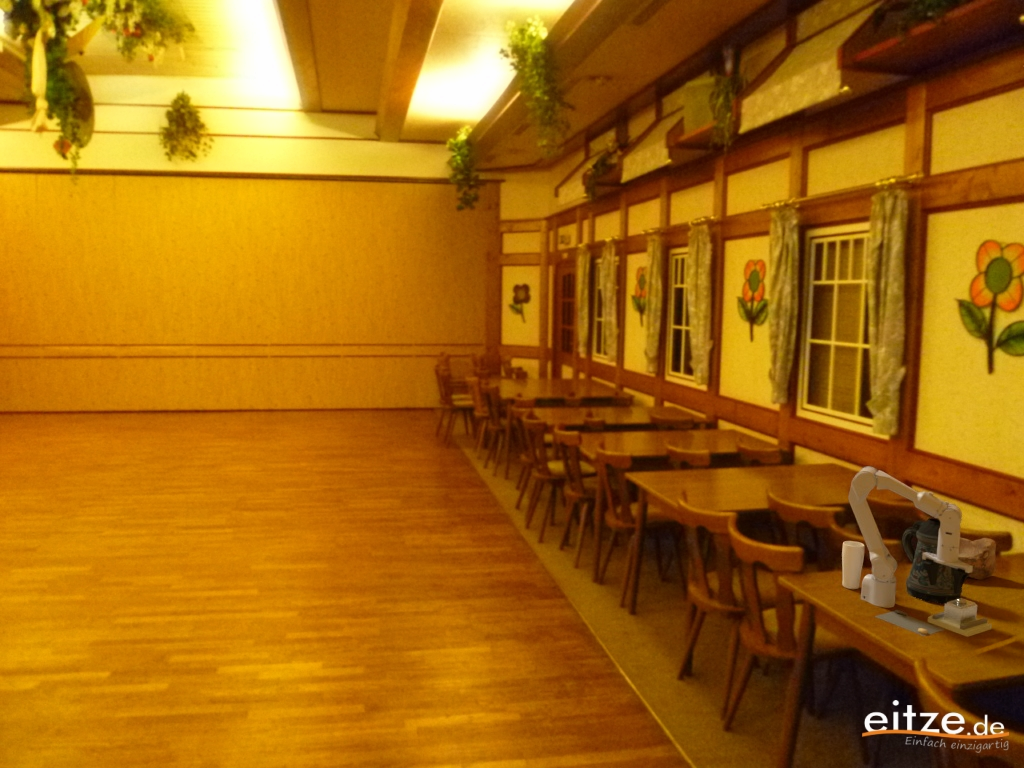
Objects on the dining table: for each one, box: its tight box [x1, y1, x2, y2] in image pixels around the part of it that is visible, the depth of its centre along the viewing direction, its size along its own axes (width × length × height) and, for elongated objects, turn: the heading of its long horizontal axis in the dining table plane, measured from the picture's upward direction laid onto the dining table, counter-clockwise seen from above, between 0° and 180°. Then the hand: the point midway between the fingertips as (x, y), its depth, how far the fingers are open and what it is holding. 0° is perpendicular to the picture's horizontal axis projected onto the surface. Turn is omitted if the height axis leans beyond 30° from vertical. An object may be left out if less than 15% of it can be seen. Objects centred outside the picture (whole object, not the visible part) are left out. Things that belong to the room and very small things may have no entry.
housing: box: [943, 597, 978, 626], centre depth 238 cm, size 8×5×6 cm, turn 120°
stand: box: [927, 611, 993, 638], centre depth 238 cm, size 12×12×4 cm
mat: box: [874, 609, 945, 637], centre depth 239 cm, size 16×10×2 cm, turn 30°
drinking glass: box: [841, 540, 865, 590], centre depth 271 cm, size 7×7×15 cm
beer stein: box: [902, 517, 963, 605], centre depth 265 cm, size 16×19×25 cm
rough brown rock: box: [957, 536, 997, 581], centre depth 286 cm, size 23×17×15 cm
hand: (944, 588), depth 245 cm, fingers open, 7 cm apart
